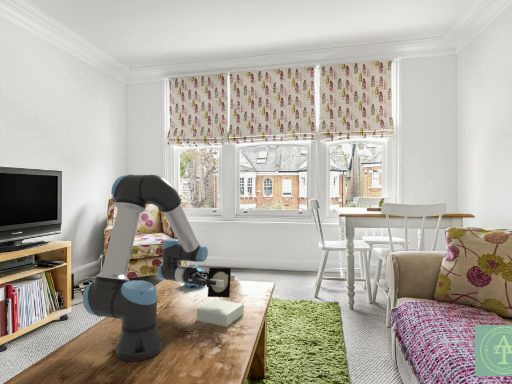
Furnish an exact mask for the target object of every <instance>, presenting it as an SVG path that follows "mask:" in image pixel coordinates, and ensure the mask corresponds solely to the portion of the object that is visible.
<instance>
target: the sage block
mask: <svg viewBox="0 0 512 384" xmlns="http://www.w3.org/2000/svg"><path fill="white" fill-rule="evenodd" d="M244 307H245V306H244V304H243V303H239V302H233V301H228V300H221V299H217V298H216V299H213V300H211V301H210V302H207V303H206V304H204V305H202V306H201V307H199V308H197V309H196V321H198V322H203V323H208V324H212V325H216V326H220V327H221V326H222V327H229V326H230V325H231V324H233V323H234V322H235V321H237V320H238V319H239V318H241V317H242V316H243V315H244V314H245V313H244V312H245V311H244Z"/></svg>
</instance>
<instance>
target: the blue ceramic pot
mask: <svg viewBox="0 0 512 384" xmlns="http://www.w3.org/2000/svg"><path fill="white" fill-rule="evenodd" d="M194 267H195V268H197V270H198V271H203V272H205V269H202V268H200V267H199V265H198V264H195V266H194ZM183 284H184V285H185V286H186V288H191V287H195V288H200V285H197V284H189V283H184V282H183ZM202 284H203V283H202Z"/></svg>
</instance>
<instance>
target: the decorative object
mask: <svg viewBox="0 0 512 384" xmlns="http://www.w3.org/2000/svg"><path fill="white" fill-rule="evenodd" d="M231 270H232V269H231V267H209V270H208V271H209V280H210V279H217V280H224V287H218V286H212V285H209V287H207V297H208V298H230V296H231V281H230V277H231V275H232V273H231V272H232V271H231Z"/></svg>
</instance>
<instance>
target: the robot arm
mask: <svg viewBox="0 0 512 384" xmlns="http://www.w3.org/2000/svg"><path fill="white" fill-rule="evenodd" d="M110 193H111V195H112V196H111V198H112V200H113V201H114V207H115V208H116V215H115V217H114V218H115V219H114V222H113V227H112V230H111V235H110V237H109V242H108V246H107V249H106V253H105V256H104V261H103V265H102V269H101V271H100V273H97V274H96V275H95V277H94V281H92V282H90V283H89V284H88V286H86V288H85V289H84V291H83V294H82V303H83V308H85V311H86V312H87V313H88V314H90V315H93V316H96V317H99V318H100V317H104V318H110V319H117V320H121V331H120V335H119V338H118V343H117V344H116V347H115V356H116V357H117V359H120V360H121V361H124V362H139V361H145V360H148V359H151V358H153V357H154V356H157V355H158V354H159V353H160V352H161V351H162V348H163V344H162V343H163V341H162V337H161V335H160V332H159V329H158V327H157V325H158V293H157V287H156V285H155V284H154V283H152V282H149V281H147V280H142V279H141V280H130V279H129V278H128V276H127V274H128V273H127V272H128V268H129V264H130V260H131V255H132V251H133V247H134V242H135V238H136V233H137V228H138V224H139V221H140V216H141V214H143V213H144V212H146V208H147V205H153V206H156V207H157V208H158V211H160V212H161V213H163V215H164V216H165V218H166V220H167V222H168V224H169V226H170V228H171V230H172V231H173V233H174V235H175V238H169V239H168V238H167V239H164V240H163V241H162V248H161V249H162V250H161V251H162V262H161V264H159V266H158V269H157V276H158V277H159V279H162V280H166V281H172V282H173V281H174V282H178V283H181V284H184V283H189V284H197V285H199V287H200V286H201V287H206V288H208V287H209V285H212V286H218V287H224V280H217V279H210V280H209V270H208V269H206V270H205V269H204V270H205V272H203V271H198V270H197V268H195V267H196V266H187V265H182V264H181V265H180V264H179V263H180V261H184V262H194V263H202V262H203V263H204V262H205V261H206V260H207V257H208V254H209V249H208V247H207V246H206V245H204V244H203V245H202V244H201V245H200V243H199V241H198V239H197V236H196V235H195V232H194V231H193V229H192V226H191V223H190V222H189V220H188V218H187V216H186V213H185V210H184V209H183V207H182V205H181V204H182V199H181V197H180V195H179V193H178V191H177V190H176V188H175V187H174V186H173V184H171V183H170V182H169V181H167V179H165V177H164V178H163V177H162V176H159V175H157V174H126V175H121V176H119V177H117V178H116V179H115V180H114V182H113V184H112V187H111V192H110ZM230 282H236V274H231V277H230ZM202 283H203V284H202Z"/></svg>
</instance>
